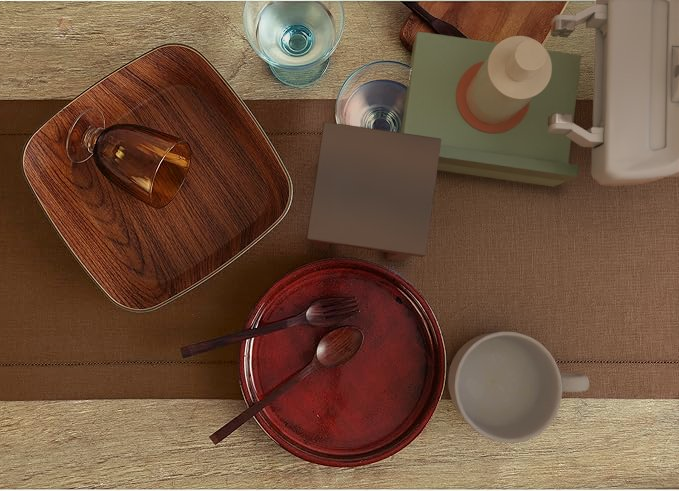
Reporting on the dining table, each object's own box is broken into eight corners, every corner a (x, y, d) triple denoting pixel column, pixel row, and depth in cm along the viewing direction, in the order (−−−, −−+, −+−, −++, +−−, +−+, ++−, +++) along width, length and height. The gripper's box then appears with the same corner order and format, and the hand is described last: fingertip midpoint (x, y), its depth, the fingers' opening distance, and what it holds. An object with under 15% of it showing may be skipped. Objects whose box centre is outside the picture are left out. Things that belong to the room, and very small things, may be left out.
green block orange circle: (412, 45, 70) (421, 19, 63) (567, 68, 70) (593, 44, 63) (396, 164, 69) (403, 151, 62) (552, 187, 69) (577, 176, 62)
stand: (325, 163, 69) (323, 121, 51) (412, 175, 69) (441, 138, 51) (312, 250, 68) (306, 239, 50) (400, 263, 68) (425, 256, 50)
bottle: (466, 68, 66) (496, 21, 54) (521, 69, 66) (564, 22, 54) (466, 123, 65) (496, 88, 53) (521, 124, 65) (565, 89, 53)
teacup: (433, 416, 67) (448, 434, 59) (448, 319, 68) (464, 324, 60) (557, 436, 68) (588, 456, 60) (570, 338, 68) (602, 346, 60)
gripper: (719, -42, 55) (567, -51, 55) (716, 182, 54) (560, 173, 54) (679, -8, 61) (543, -17, 61) (675, 193, 60) (536, 184, 60)
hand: (551, 73), depth 57 cm, fingers open, 8 cm apart
